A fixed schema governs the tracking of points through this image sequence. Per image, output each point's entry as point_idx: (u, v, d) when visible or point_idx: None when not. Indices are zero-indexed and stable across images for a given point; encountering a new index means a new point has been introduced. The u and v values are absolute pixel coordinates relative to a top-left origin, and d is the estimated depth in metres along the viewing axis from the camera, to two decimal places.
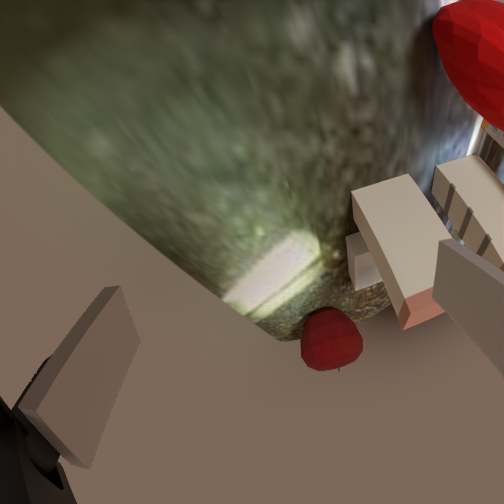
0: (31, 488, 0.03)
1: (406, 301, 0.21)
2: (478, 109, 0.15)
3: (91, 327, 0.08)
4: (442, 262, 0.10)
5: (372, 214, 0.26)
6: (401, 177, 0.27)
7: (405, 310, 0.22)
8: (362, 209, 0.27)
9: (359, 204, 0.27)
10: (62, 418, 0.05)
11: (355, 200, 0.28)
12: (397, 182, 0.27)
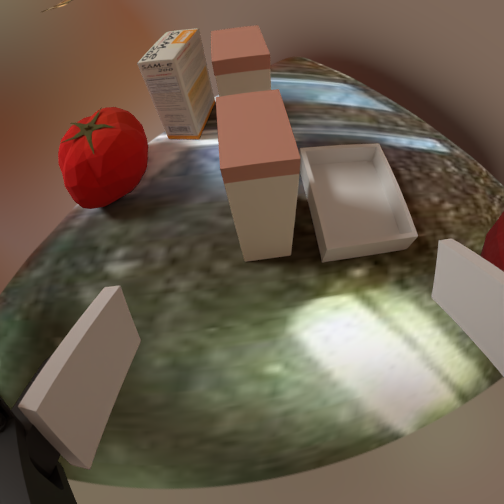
0: (31, 488, 0.03)
1: (223, 180, 0.17)
2: (121, 167, 0.27)
3: (91, 327, 0.08)
4: (442, 262, 0.10)
5: None
6: None
7: (241, 174, 0.16)
8: (242, 249, 0.26)
9: None
10: (62, 418, 0.05)
11: (246, 257, 0.28)
12: None
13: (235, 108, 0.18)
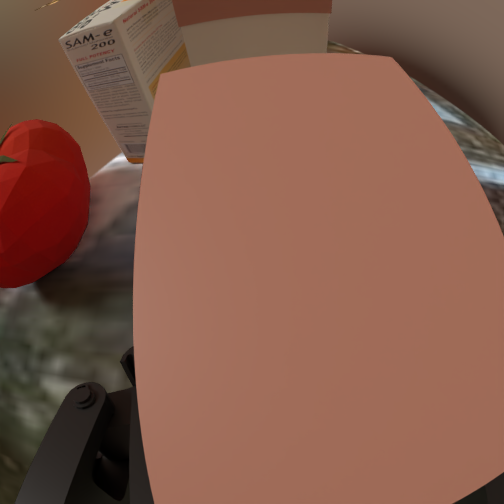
0: None
1: None
2: (31, 234, 0.13)
3: None
4: None
5: None
6: None
7: None
8: None
9: None
10: None
11: None
12: None
13: (233, 113, 0.04)
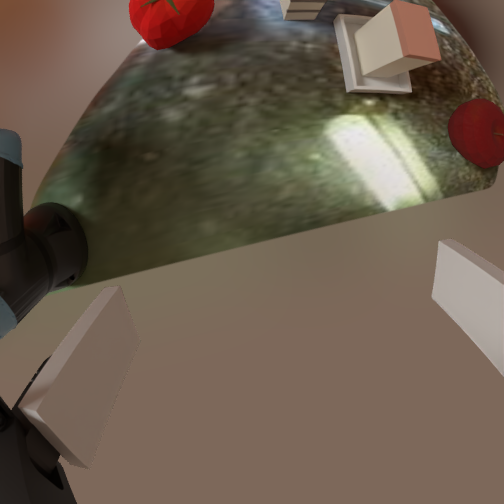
0: (31, 488, 0.03)
1: (404, 55, 0.22)
2: (199, 20, 0.27)
3: (91, 327, 0.08)
4: (442, 262, 0.10)
5: (370, 66, 0.31)
6: (354, 39, 0.32)
7: (414, 56, 0.22)
8: (368, 72, 0.32)
9: (366, 73, 0.32)
10: (62, 418, 0.05)
11: (365, 75, 0.33)
12: (357, 43, 0.32)
13: (408, 14, 0.19)
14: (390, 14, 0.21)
